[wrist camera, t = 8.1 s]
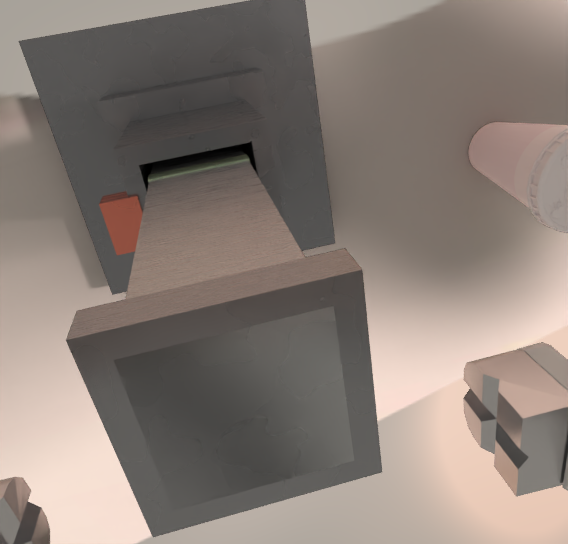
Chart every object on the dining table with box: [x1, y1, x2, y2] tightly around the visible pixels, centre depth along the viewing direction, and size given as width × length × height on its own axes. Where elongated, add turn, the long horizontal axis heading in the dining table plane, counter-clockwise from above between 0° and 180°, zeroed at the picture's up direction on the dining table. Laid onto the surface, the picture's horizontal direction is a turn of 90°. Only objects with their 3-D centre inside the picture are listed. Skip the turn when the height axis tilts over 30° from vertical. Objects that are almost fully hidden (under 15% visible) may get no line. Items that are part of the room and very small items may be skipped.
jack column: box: [66, 145, 382, 537], centre depth 18 cm, size 5×5×18 cm
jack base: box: [19, 0, 335, 295], centre depth 27 cm, size 16×16×12 cm
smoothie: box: [468, 122, 568, 233], centre depth 30 cm, size 6×6×14 cm
